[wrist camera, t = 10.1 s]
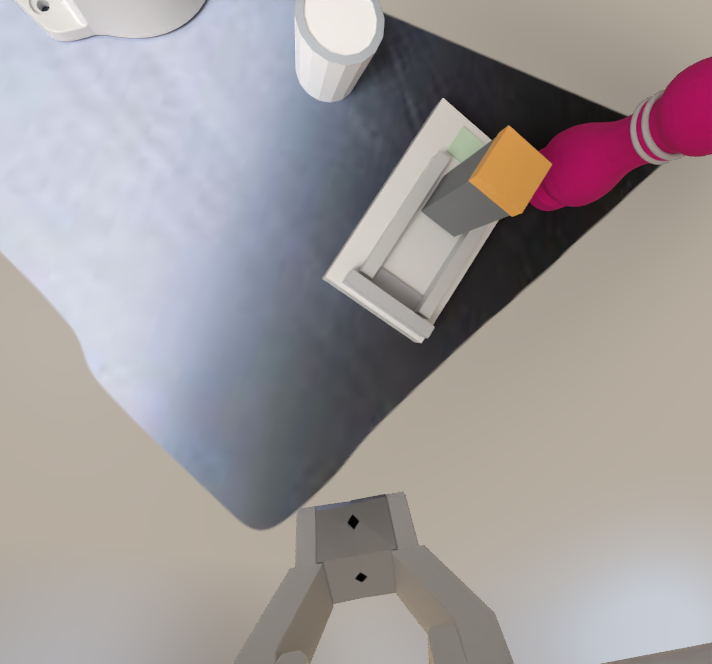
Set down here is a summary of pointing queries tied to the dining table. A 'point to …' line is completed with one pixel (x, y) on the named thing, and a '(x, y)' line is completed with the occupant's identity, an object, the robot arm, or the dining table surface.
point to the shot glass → (335, 44)
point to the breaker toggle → (488, 184)
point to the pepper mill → (629, 142)
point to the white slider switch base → (412, 233)
